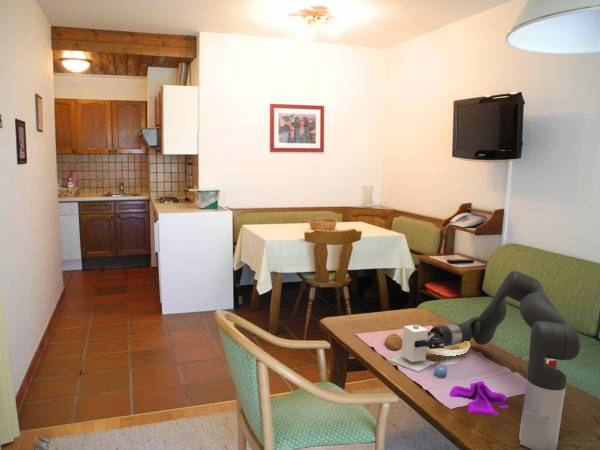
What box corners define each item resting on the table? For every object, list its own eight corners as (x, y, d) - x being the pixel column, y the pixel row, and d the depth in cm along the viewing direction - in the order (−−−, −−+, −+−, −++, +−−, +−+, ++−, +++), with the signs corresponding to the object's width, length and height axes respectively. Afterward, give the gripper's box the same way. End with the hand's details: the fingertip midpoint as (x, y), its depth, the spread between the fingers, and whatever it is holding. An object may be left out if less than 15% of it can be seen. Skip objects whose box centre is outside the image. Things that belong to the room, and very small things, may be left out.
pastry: (402, 352, 194) (403, 342, 194) (384, 350, 195) (385, 340, 195) (401, 343, 203) (402, 333, 203) (384, 341, 204) (385, 332, 204)
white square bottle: (425, 359, 183) (428, 327, 181) (411, 362, 181) (414, 329, 179) (414, 353, 189) (417, 321, 187) (401, 355, 186) (404, 323, 184)
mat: (418, 372, 177) (418, 371, 176) (389, 361, 185) (389, 360, 185) (436, 363, 185) (436, 362, 185) (407, 352, 193) (407, 351, 193)
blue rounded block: (442, 379, 173) (443, 371, 172) (432, 375, 175) (432, 367, 175) (448, 376, 175) (449, 367, 175) (437, 372, 178) (438, 363, 178)
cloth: (481, 422, 148) (484, 402, 147) (435, 393, 164) (437, 375, 163) (532, 406, 158) (535, 388, 157) (485, 381, 174) (487, 363, 173)
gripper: (433, 319, 196) (397, 324, 188) (461, 332, 183) (423, 338, 176) (432, 338, 197) (396, 343, 189) (458, 352, 184) (421, 359, 177)
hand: (409, 341), depth 183 cm, fingers closed on white square bottle, 6 cm apart
